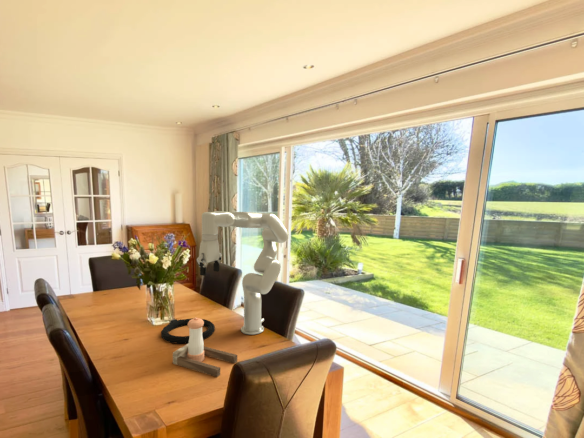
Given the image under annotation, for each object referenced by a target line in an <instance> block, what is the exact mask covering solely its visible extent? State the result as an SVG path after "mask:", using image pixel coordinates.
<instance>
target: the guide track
mask: <svg viewBox="0 0 584 438" xmlns="http://www.w3.org/2000/svg"><path fill="white" fill-rule="evenodd" d="M203 350H204V357H205V356H206V357H210V358H214V359H215V360H220V361H223V362H228V363H231V364H236V363H238V355H237V354H235V353H231V352H227V351H223V350H220V349H215V348H212V347H208V346H205V345H204V349H203ZM187 353H188V343H186V344H185V345H184V346H181V347H180V348H177V349H176V350H175V351H173V352H172V364H173V365H177V366H179V367H182V368H186V369H189V370H192V371H195V372H199V373H201V374H202V373H203V374H206V375H209V376H213V377H216V378H218V377H219V376H220V375H221V367H219V366H216V365H214V364H213V365H212V364H209V363H206V362H203V361H202V362H199V361H196V360H192V359H189V358H187Z"/></svg>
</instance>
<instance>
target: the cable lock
mask: <svg viewBox="0 0 584 438" xmlns="http://www.w3.org/2000/svg"><path fill="white" fill-rule="evenodd" d="M191 319H194V318H184V319H182V318H181V319H177V318H176V319H174V318H173V319H171V320H170V321H169V323H168V324H167V325H165V326H164V327H163V329H162V330H161V332H160V336H161V338H162V339H163V340H164V341H165V342H169V343H172V344H178V345H179V344H183V345H184V344H188V343H189V335H185V336H181V335H174V334H171V333H170V332H171V331H172V330H174V329H177V328H180V327H184V326H188V322H189V321H190V320H191ZM201 319H202V320H203V321H204V325H203V327H205V328H207V329H206V330H204V331H202V337H203V341H204V340H205V339H207V338H209V337H210V336H212V335H213V334H214V332H215V331H216V327H215V324H214V323H213V322H211V320H209V319H205V318H201Z"/></svg>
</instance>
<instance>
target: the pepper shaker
mask: <svg viewBox="0 0 584 438" xmlns="http://www.w3.org/2000/svg"><path fill="white" fill-rule="evenodd" d="M190 319H191V318H190ZM202 319H203V318H199V317H196V316H195V317H194V318H193V319H191V320H190V321H189V322H188V325H187V327H188V328H189V331H188V332H189V335H188V336H189V343H187V344H188V353H187V358H189V359H192V360H196V361H199V362H202V363H203V361H205V355H204V350H203V349H204V346H205V344H204V340H203V337H202V333H203V327H204V326H203V325H204V321H203V320H202Z"/></svg>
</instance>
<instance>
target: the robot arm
mask: <svg viewBox="0 0 584 438" xmlns="http://www.w3.org/2000/svg"><path fill="white" fill-rule="evenodd" d="M219 227H223V228H228V227H233V228H234V227H235V228H242V229H262V233H261V237H262V239H263V240H262V241H263V248H262V249H261V252H260V253H259V255H258V256H257V258H256V261H255V262H254V265H253V270H254V271H255V272H256V273H254V272H248V273H246V274H245V275H244V276H243V277H242V280H241V281H242V283H241V285H242V292H243V326H241V328H240V331H241V333H243V334H244V335H250V336H252V335H254V336H255V335H259V334H261V333H263V332H264V331H265V327H264V325H262V323H263V322H264V321H265V318H264V317H263V318H262V295H267V294H268V293H269V292H270V291H271V290H272V288H273V286H274V284H275V282H276V281H277V279H278V276H279V274H280V272H281V262H280V261H279V260H278V259H276V256H277V255H278V247H277V243H278V244H283V243H286V242H287V240H288V239H289V232H288V230H287V228H286V227H285V225H284V224H283V222H282V221H281V220H280V219H279V217H278V216H277V215H276V214H274V213H271V212H270V213H268V212H267V213H266V212H253V211H221V210H214V211H204V212H203V213H201V241H200V243H199V251H198V257H197V258H196V262H197V265H198V268H199V274H200V276H204V277H205V276H207V264H208V263H212V262H213V272H218V273H220V264H221V260H222V256H223V253H222V252H220V244H219V243H220V242H219Z"/></svg>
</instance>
